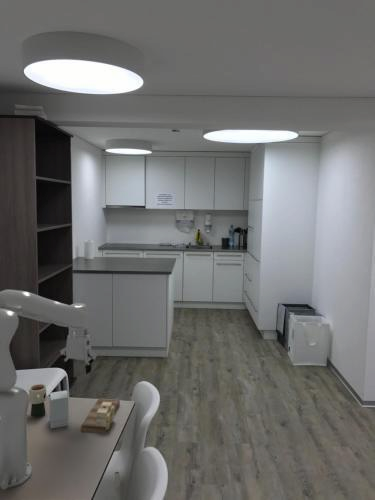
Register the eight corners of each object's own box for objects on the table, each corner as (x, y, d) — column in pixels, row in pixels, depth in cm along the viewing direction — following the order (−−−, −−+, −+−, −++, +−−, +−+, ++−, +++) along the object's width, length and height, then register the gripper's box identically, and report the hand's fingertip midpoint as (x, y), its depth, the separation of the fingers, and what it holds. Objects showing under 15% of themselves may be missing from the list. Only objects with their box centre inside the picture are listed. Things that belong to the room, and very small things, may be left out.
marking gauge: (108, 429, 162) (108, 412, 162) (96, 428, 163) (96, 411, 162) (114, 417, 171) (114, 402, 170) (102, 417, 172) (103, 401, 171)
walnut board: (104, 433, 162) (104, 427, 162) (81, 431, 163) (81, 425, 163) (119, 404, 186) (119, 399, 186) (99, 403, 187) (99, 398, 186)
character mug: (47, 419, 171) (47, 391, 170) (29, 422, 168) (29, 393, 167) (45, 408, 181) (45, 381, 180) (29, 410, 178) (28, 383, 177)
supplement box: (68, 425, 167) (68, 397, 166) (50, 428, 164) (50, 400, 163) (67, 417, 174) (67, 389, 172) (49, 420, 171) (49, 392, 170)
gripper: (100, 332, 168) (100, 370, 170) (65, 328, 173) (66, 365, 175) (91, 337, 161) (91, 377, 163) (55, 333, 166) (55, 371, 167)
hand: (78, 371), depth 169 cm, fingers open, 9 cm apart
